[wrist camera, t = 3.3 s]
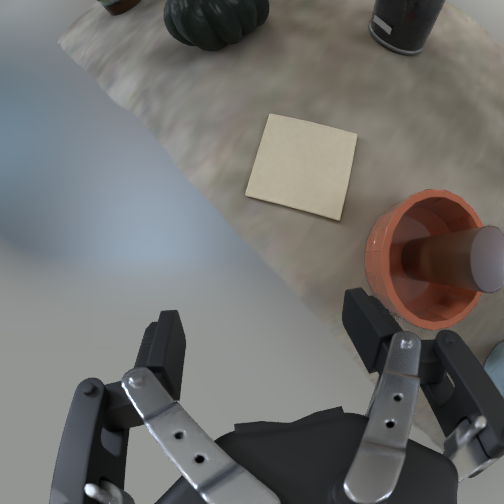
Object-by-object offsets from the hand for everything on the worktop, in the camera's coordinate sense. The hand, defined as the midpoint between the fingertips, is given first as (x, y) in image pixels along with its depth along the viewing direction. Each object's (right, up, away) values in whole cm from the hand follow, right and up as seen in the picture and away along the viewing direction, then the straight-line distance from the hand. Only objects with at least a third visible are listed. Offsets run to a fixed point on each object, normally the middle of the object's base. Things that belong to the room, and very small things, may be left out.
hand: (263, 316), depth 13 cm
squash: (-5, +38, +20) cm, 43 cm away
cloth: (+5, +13, +17) cm, 23 cm away
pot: (+19, +2, +15) cm, 24 cm away
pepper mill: (+19, +2, +15) cm, 24 cm away
